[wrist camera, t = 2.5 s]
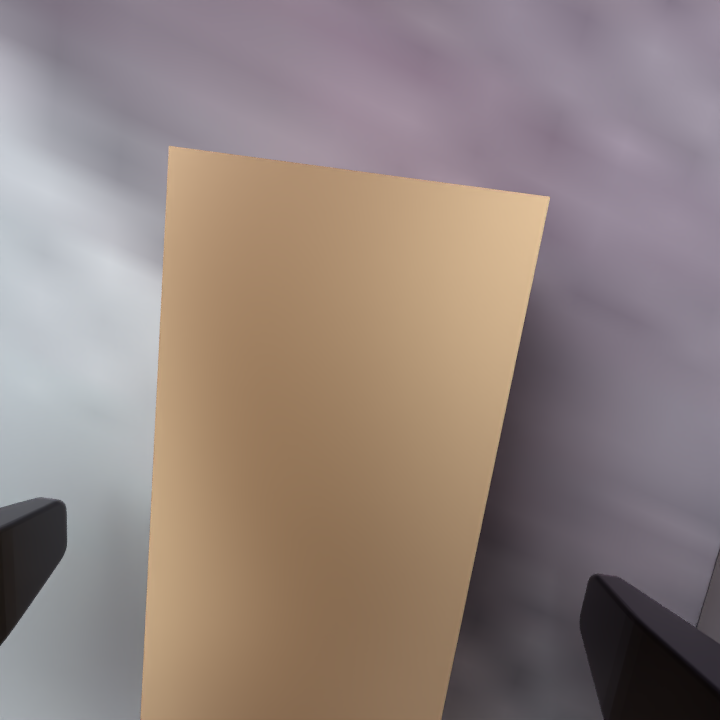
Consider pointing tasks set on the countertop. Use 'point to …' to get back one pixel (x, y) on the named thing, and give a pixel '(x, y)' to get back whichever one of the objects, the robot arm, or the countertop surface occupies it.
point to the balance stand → (712, 607)
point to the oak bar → (324, 434)
